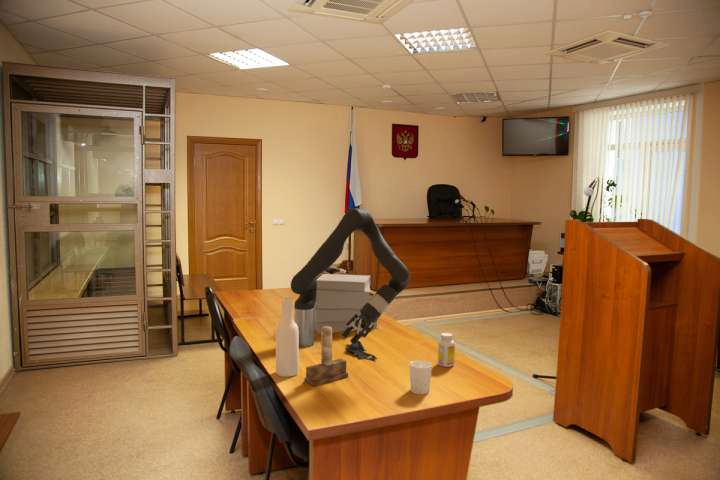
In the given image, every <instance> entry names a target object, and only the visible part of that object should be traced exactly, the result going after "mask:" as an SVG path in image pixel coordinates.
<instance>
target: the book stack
mask: <svg viewBox="0 0 720 480" xmlns="http://www.w3.org/2000/svg"><path fill="white" fill-rule="evenodd" d="M316 281H317V295H316V302H315V305H314V332H315V331H316V332H317V334H318V335H321V328H322V327H325V326H329V327H332V334H333V333H343V332H344V331H345V330H346V329H347V325H346V324H347V323H348V322H349V321H350V319H351V318H352V317H353V316H354V315H355V314H357V315H358V316H360V315H361V312H360V310H361V308H362V307H363V306H364V305H365V304H366V303H367V301H368V300H369V299H370V298H371V297H370V293H371V292H372V291H371V287H370V286H371V275H366V274H365V275H363V274H339V273H338V274H337V273H335V274H334V273H323V274H321V276H319V277H318V278H317V279H316ZM379 320H380V319H379V318H378V319H377V321H376V322H375V323H372V322H371V323H372V324H373V325H374V327H373V328H372V330H373V329H375V330H376V329H379V327H378V321H379ZM350 324H351V323H350ZM352 328H353V327H352ZM353 331H358V329H354V330H353ZM353 331H352V332H353Z"/></svg>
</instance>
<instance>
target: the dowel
mask: <svg viewBox="0 0 720 480" xmlns="http://www.w3.org/2000/svg"><path fill="white" fill-rule="evenodd" d="M320 335H321V344H320V345H321V351H320V352H321V362H320V364H322V365H324V366H329V365H332V361H333V333H332V327H329V326H325V327H322V328H321V334H320Z"/></svg>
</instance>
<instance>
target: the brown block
mask: <svg viewBox="0 0 720 480" xmlns="http://www.w3.org/2000/svg"><path fill="white" fill-rule="evenodd" d="M348 377H349V373H348V372H347V360H346V359H343V358H339V359H334V360H333V359H332V365H329V366H324V365H322V364H321V363H317V364H313V365H310V366H306V367H305V377H304V378H303V382H304V383H306V384H308V385H309V386H311V387H313V388H314V387H317V386H320V384H321V385H325V384H329V383H331V382H335V381H339V380H343V379H346V378H348ZM324 383H325V384H324Z"/></svg>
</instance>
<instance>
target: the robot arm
mask: <svg viewBox="0 0 720 480" xmlns="http://www.w3.org/2000/svg"><path fill="white" fill-rule="evenodd" d="M355 231H361V232H363V234H364V235H365V236H366V237H367V239H368V241H369V242H370V245H371V249H372V250H371V251H372V253H373V254H374V256H375V258H376V259H377V260H378V263H380V264H381V266H382V267H383V268H384V269H385V270H386V272H388V273H389V275H390V277H391V279H390V280H389V281H388V282H387V283H384V284H382V285H381V286H380V287H379V288H378V289H377V291H376V292H374V294H373V295H372V296H371V297H370V299H369V300H368V301H367V303H366V304H365V305H364V306H363V307H362V308H361V310H360V312H361V315H360V316H358V315H357V314H355V315H354V316H353V317H352V318H351V319H350V321H349V322H348V323H347V324H346V325H347V329H346V330H345V331H344V332H341V336H342V337H343V338H344V339H347V338H348V336H350V334H351V333H352V332H353V330H354V329H358V330H356V333H355V334H354V336H352V338H351V339H350V340H349V342H350V344H353V345H355V343H356V342H357V341H358V340H359V341H360V339H361V338H367V336H368V335H369V333H370V332H371V331H372V330H373V329H372V328H373V327H374V325H373V324H372V323H375V322H376V321H377V322H378V320H377V319H379V318H380V317H382V315H383V314H384V312H386V310H387V309H388V308H389V306H390V304H391V303H392V302H393V301H394V300H395V298H396V297H397V296H398V295H399V294H401V293H402V292H403V291H404V289H406V288H407V286H409V283H410V281H411V275H410V271H409V269H408V268H407V266H406V265H405V264H404V263H403V262H402V261H401V260H400V259H399V258H398V257H397V255H396V253H395V252H394V251H393V250H392V248H391V247H390V246H389V244H388V242H386V240H385V238H384V236H383V235H382V233H381V231H380V229H379V227H378V225H377V223H376V222H375V220H374V218H373V216H372V214H371V212H369V210H367V209H365V208H357V207H355V208H354V207H353V208H350V209H349V210H347V211H346V212H345V214H344V215H343V216H342V218H341V220H340V221H339V223H338V224H337V226H336V227H335V229H334V230H333V231H332V232H331V234H329V236H328V237H327V238H326V240H325V241H324V242H323V243H322V244H321V245H320V247H318V249H317V250H316V252H315V253H314V254H313V255H312V256H311V258H309V260H308V261H307V263H306V264H305V265H304V266H303V267H302V268H301V269H300V270H299V271H298V272H297V273H296V274H295V275H293V277H292V279H291V282H290V290H291V291H292V293H294V294H295V295H299V296H298V298H297V299H296V300H295V301H294V305H293V306H294V307H293V308H294V322H295V323H296V324H297V326H298V330H299V347H304V348H305V347H311V346H314V345H315V330H314V305H315V302H316V295H317V281H316V280H317V279H316V278H317V276H319V275H320V274H321V273H323V272H325V271H326V270H328V269H329V268H330V267H331V266H333V265H334V263H336V262H337V260H338V259H339V257H340V256H341V255H342V254H343V251H344V248H345V247H344V246H345V243H346V241H347V239H349V237H350V236H351V235H352V234H353V233H354V232H355ZM371 322H372V323H371ZM350 323H351V324H350ZM352 327H353V328H352ZM354 331H355V330H354Z"/></svg>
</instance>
